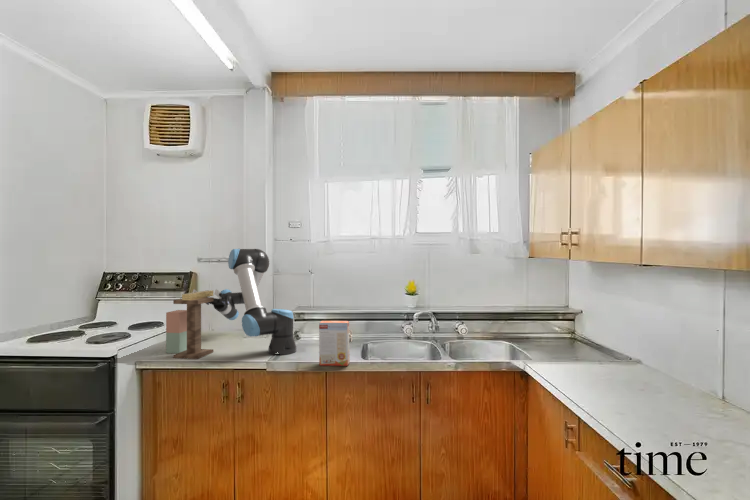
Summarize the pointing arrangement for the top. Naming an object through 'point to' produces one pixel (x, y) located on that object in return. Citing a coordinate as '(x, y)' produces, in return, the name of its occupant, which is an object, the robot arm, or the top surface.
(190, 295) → the brass bar
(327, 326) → the cracker box
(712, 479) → the top surface
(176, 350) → the bottom block
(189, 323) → the wooden stand
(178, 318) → the top block
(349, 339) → the architectural model
